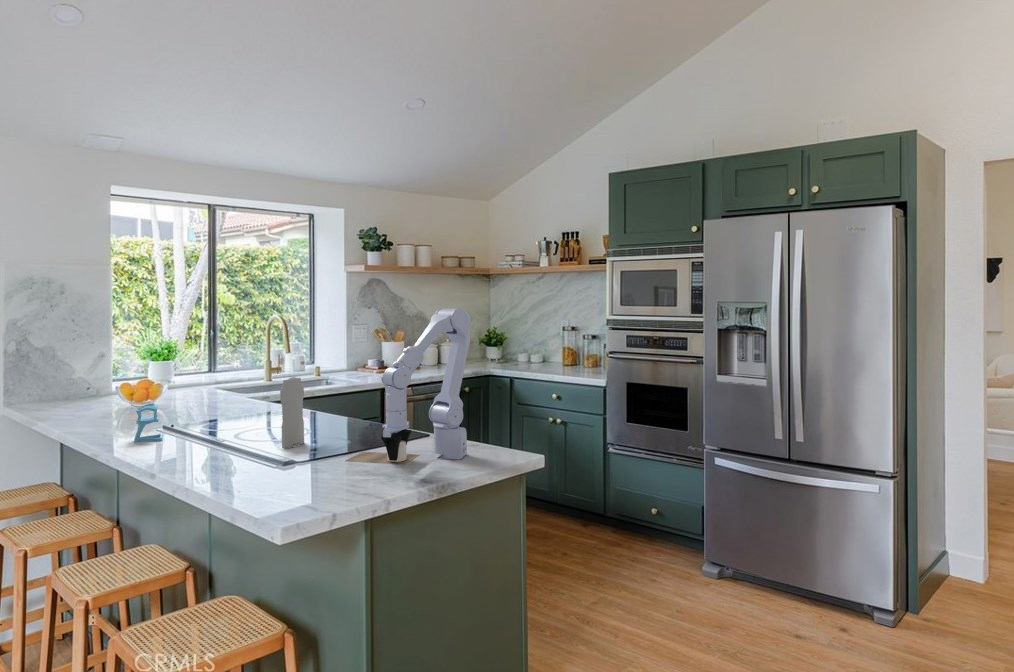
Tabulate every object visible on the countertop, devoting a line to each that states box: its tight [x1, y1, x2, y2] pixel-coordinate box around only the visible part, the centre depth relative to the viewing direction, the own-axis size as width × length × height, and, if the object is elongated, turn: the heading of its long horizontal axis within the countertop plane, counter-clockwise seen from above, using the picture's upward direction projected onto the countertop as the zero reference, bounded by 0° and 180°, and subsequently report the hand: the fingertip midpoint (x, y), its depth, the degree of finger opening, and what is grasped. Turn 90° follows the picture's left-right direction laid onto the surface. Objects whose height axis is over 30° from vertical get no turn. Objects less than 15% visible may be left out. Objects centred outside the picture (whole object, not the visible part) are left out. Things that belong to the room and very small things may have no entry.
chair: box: [133, 403, 163, 443], centre depth 234 cm, size 8×8×12 cm
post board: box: [345, 451, 420, 466], centre depth 202 cm, size 18×12×6 cm, turn 77°
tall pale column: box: [279, 376, 305, 449], centre depth 224 cm, size 11×4×22 cm, turn 156°
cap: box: [386, 440, 407, 462], centre depth 199 cm, size 5×5×5 cm
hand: (396, 457), depth 199 cm, fingers closed on cap, 5 cm apart
